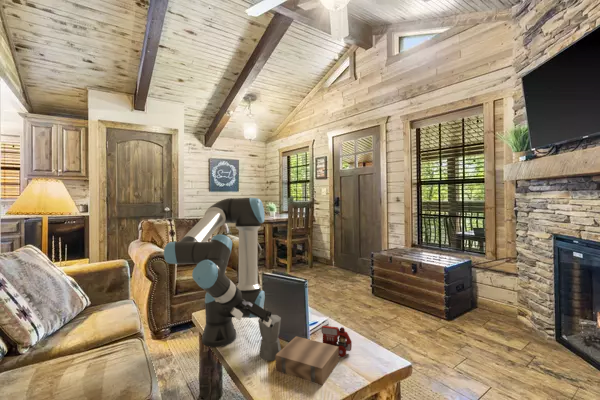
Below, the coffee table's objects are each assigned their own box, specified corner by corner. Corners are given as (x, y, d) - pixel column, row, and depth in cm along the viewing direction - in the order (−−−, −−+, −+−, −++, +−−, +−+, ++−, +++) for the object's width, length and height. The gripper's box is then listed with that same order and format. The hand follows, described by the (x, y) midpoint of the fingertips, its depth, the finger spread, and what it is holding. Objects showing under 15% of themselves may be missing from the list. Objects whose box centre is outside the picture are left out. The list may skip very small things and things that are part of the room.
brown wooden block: (275, 370, 110) (275, 355, 110) (296, 350, 124) (296, 336, 124) (322, 385, 101) (321, 368, 101) (338, 361, 116) (338, 346, 115)
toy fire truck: (350, 358, 118) (350, 332, 117) (320, 354, 121) (319, 329, 121) (352, 349, 124) (352, 325, 124) (323, 345, 128) (323, 322, 127)
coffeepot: (284, 362, 116) (283, 317, 115) (260, 365, 114) (259, 319, 113) (278, 343, 131) (278, 302, 130) (257, 345, 129) (256, 304, 128)
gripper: (194, 298, 103) (225, 323, 116) (251, 310, 91) (278, 337, 105) (205, 279, 107) (234, 305, 121) (261, 288, 96) (286, 316, 109)
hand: (255, 320), depth 113 cm, fingers open, 13 cm apart
